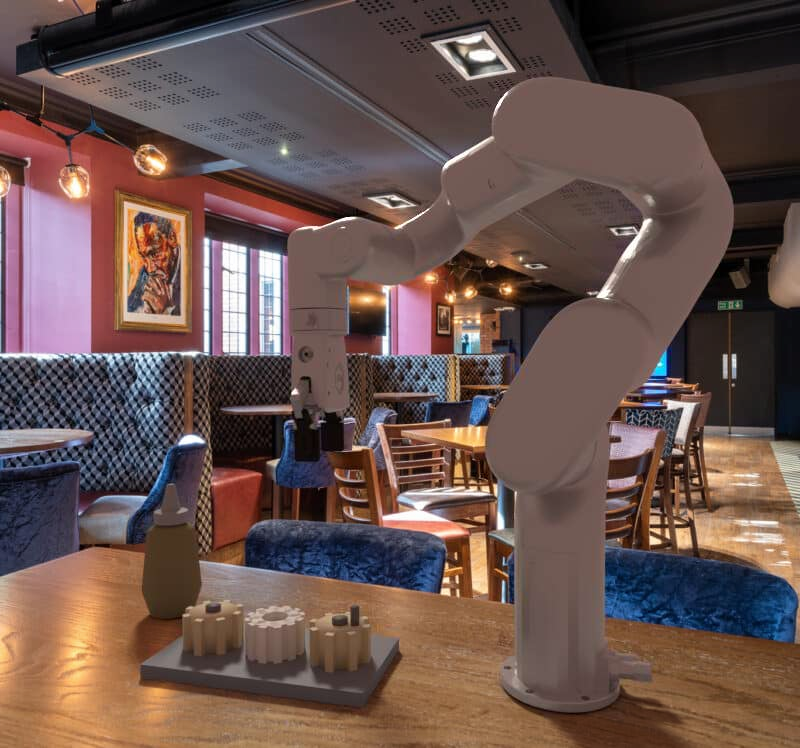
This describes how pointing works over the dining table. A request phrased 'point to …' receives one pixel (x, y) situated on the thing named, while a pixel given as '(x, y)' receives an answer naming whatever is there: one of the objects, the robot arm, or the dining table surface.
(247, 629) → the cream idler gear
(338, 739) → the dining table surface
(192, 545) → the squeeze bottle
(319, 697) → the gear board
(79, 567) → the dining table surface
